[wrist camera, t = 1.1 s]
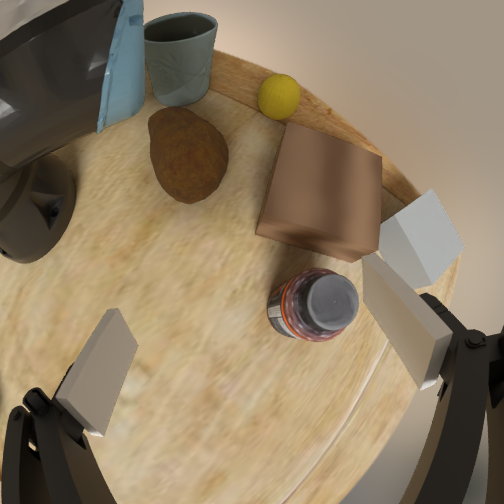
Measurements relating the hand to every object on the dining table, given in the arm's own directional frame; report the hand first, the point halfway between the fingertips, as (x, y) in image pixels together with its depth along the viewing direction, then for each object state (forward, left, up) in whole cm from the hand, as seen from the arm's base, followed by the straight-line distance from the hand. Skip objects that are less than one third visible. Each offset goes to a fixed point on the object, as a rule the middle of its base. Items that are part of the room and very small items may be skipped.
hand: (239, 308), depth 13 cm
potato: (-17, +4, -15) cm, 23 cm away
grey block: (+5, +24, -15) cm, 29 cm away
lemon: (-20, +18, -15) cm, 31 cm away
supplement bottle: (+3, +6, -15) cm, 17 cm away
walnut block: (-6, +15, -15) cm, 22 cm away
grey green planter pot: (-32, +9, -15) cm, 37 cm away
